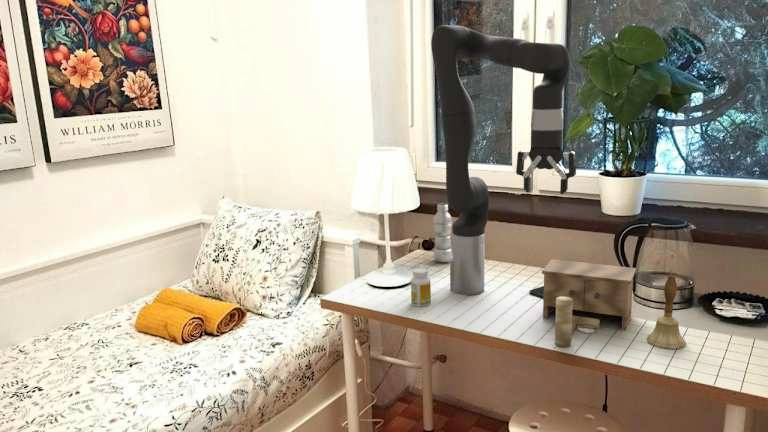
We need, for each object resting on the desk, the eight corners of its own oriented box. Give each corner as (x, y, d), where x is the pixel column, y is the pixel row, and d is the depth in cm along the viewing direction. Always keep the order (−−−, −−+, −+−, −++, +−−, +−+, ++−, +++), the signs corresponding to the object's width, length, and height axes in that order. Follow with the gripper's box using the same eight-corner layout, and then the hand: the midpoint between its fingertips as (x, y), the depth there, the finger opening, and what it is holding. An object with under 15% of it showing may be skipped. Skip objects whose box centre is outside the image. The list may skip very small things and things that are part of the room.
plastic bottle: (432, 264, 205) (432, 206, 201) (434, 258, 211) (433, 202, 207) (452, 264, 204) (451, 206, 200) (453, 259, 210) (452, 202, 206)
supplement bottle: (433, 301, 170) (432, 268, 168) (428, 308, 165) (427, 274, 163) (414, 299, 172) (413, 266, 170) (409, 306, 167) (408, 272, 165)
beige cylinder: (543, 344, 140) (544, 299, 138) (557, 321, 153) (559, 279, 151) (588, 352, 136) (590, 305, 133) (599, 327, 149) (601, 285, 146)
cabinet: (540, 319, 155) (541, 271, 152) (550, 304, 165) (551, 259, 162) (627, 332, 145) (630, 281, 143) (633, 316, 155) (636, 268, 153)
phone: (545, 285, 178) (589, 298, 167) (545, 288, 179) (589, 302, 167) (527, 291, 174) (571, 305, 162) (527, 294, 174) (571, 309, 162)
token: (576, 334, 146) (576, 329, 146) (576, 327, 150) (577, 322, 150) (595, 336, 145) (596, 331, 144) (595, 329, 149) (595, 324, 148)
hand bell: (652, 331, 146) (657, 268, 142) (690, 340, 140) (695, 274, 137) (641, 343, 139) (645, 277, 136) (680, 352, 134) (686, 284, 131)
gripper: (579, 126, 149) (577, 192, 152) (522, 126, 155) (521, 189, 159) (573, 129, 142) (571, 197, 146) (513, 128, 149) (512, 193, 152)
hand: (545, 192), depth 152 cm, fingers open, 8 cm apart
